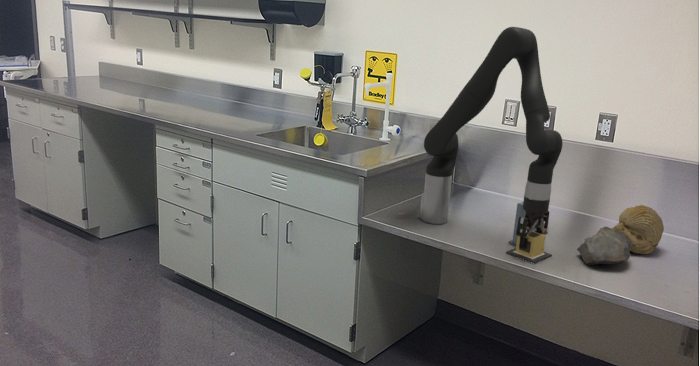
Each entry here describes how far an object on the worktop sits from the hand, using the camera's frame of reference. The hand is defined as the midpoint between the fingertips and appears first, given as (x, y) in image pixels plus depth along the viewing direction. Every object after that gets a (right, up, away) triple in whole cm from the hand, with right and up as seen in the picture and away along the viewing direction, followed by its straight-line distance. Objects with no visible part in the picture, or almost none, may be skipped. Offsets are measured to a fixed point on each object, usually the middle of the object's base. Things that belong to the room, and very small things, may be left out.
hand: (530, 245), depth 181 cm
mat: (0, -3, +1) cm, 3 cm away
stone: (+22, -5, -1) cm, 22 cm away
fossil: (+37, -2, +11) cm, 39 cm away
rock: (+9, +3, +25) cm, 26 cm away
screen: (+2, 0, +12) cm, 12 cm away
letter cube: (0, -2, +1) cm, 2 cm away
